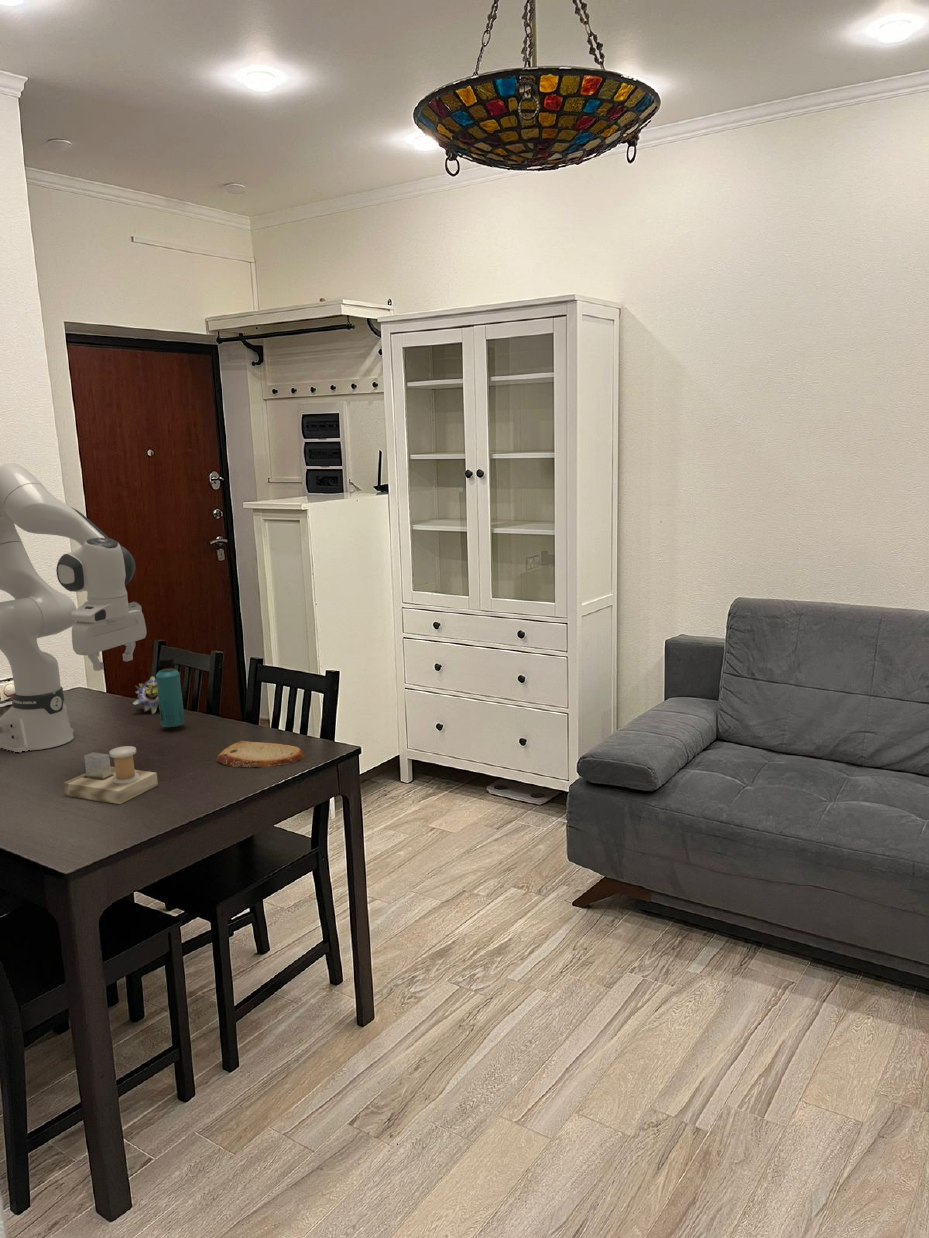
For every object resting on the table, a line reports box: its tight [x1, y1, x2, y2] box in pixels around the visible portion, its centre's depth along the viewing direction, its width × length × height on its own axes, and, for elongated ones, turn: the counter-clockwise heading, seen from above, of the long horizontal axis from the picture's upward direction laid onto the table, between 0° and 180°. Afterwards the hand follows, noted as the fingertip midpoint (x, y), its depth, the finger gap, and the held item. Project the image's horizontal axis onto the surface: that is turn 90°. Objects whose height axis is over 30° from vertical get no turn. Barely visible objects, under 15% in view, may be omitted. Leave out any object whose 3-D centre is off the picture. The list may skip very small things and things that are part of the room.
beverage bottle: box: [155, 656, 186, 728], centre depth 257 cm, size 6×7×20 cm
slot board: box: [63, 765, 159, 805], centre depth 214 cm, size 16×12×3 cm
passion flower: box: [131, 675, 159, 715], centre depth 278 cm, size 11×11×12 cm
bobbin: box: [109, 745, 139, 785], centre depth 211 cm, size 6×6×7 cm
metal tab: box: [83, 752, 112, 780], centre depth 215 cm, size 5×2×8 cm, turn 66°
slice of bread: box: [215, 740, 305, 769], centre depth 232 cm, size 18×18×4 cm
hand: (113, 665), depth 224 cm, fingers open, 8 cm apart
